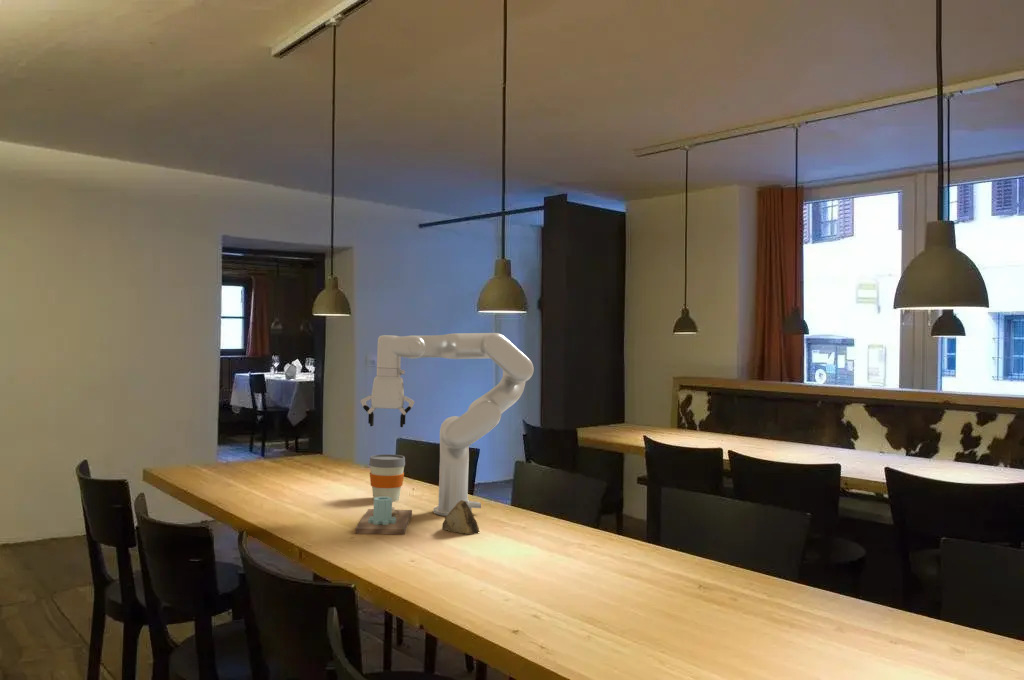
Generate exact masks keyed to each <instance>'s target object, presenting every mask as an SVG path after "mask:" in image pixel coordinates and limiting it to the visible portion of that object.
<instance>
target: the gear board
mask: <svg viewBox="0 0 1024 680" xmlns="http://www.w3.org/2000/svg"><path fill="white" fill-rule="evenodd" d="M373 512H374V508H368V509H367V510H366V512H365V514H363V517H362V518H361V520H360V521H359V523H358V524H357V525H356V527H355V532H354V533H355V535H356V534H358V535H362V534H363V535H366V534H367V535H405V533H406V530H407V528H408V525H409V523H410V521H411V518H412V515H413V510H412V509H395V507H393V506H392V517H396V523H394V524H390V523H389V525H383V524H379V525H374V524H373V523H369V522H368V519H369V517H372V516H373Z"/></svg>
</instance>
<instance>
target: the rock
mask: <svg viewBox="0 0 1024 680" xmlns="http://www.w3.org/2000/svg"><path fill="white" fill-rule="evenodd" d="M471 509H472V508H471ZM471 509H470V508H469V506H468V505H467V503H466V502H465V501H463V500H461V501H460V502H458V503H457V504H456V505H455V507H454V508H453V509H452V510H451V511H450V512H449V514H448V515H447V516H444V517H445V518H444V520H443V522H442V525H441V529H442V531H443V530H444V531H447V530H449V531H448V532H451V531H455V532H454V533H456V532H459V533H458V534H463V533H465V534H464V535H475V534H474V533H477V534H479V533H478V532H480V528H479V525H478V522H477V520H476V519H475V517H474V514H473V510H472V511H471ZM480 533H481V532H480Z"/></svg>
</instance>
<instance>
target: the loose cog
mask: <svg viewBox="0 0 1024 680" xmlns="http://www.w3.org/2000/svg"><path fill="white" fill-rule="evenodd" d="M392 507H393V502H392V498H391V497H375V498H374V500H373V509H374V512H373V516H372V517H369V519H368V522H369V523H373V524H374V525H379V524H383V525H389V523H390V524H394V523H396V517H392Z"/></svg>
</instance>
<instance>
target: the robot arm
mask: <svg viewBox="0 0 1024 680" xmlns="http://www.w3.org/2000/svg"><path fill="white" fill-rule="evenodd" d="M376 352H377V353H376V355H377V356H376V376H374V379H373V383H372V389H371V394H370V395H368V396H366V397H363V398H362V399H360V401H359V403H360V404H361V405H362V408H363V410H364V411H365V412H366V413H367V414H368V419H367V420H368V422H367V423H368V424H369V427H373V426H374V423H375V422H374V419H375V414H374V411H375V410H376V409H392V410H394V409H395V410H397V409H398V411H399V412H400V420H399V421H400V423H399V427H400V428H403V427H404V425H406V414H408V412H410V411H411V409H412V408H413V406H414V404H415V400H414V399H412V398H410V397H408V396H406V395H405V388H404V385H405V384H404V380H403V377H401V376H403V375H405V373H406V371H405V370H403V369H401V362H402V361H401V358H405V359H406V358H407V359H419V358H422V359H423V358H441V359H448V360H475V359H476V360H477V359H478V360H479V359H480V360H481V359H483V360H484V359H485V360H486V359H491V360H492V361H493V362H494V363H495V364H496V365H497V366H499V368H500V369H501V370H502V377H501V379H500V381H499V382H498V383H497V385H495V386H494V387H492V388H491V389H490V390H488V391H487V392H486V393H484V394H483V395H481V396H480V397H478V398H477V399H475V400H473V401H472V403H470V405H469V406H468V409H467V411H465V412H464V413H462V414H461V415H460V416H458V415H457V416H456V415H454V416H449V417H447V418H445V419H444V421H443V422H442V423H441V425H440V428H439V475H438V477H439V482H438V501H437V503H438V504H437V505H438V506H435V507H434V508H433V513H434V514H436V515H438V516H443V517H446V516H447V515H448V514H449V512H450V511H451V510H452V509H453V508H454V507H455V505H456V504H457V503H458V502H460V501H461V500H463V501H465V502H466V503H467V505H468V506H469V508H470V509H471V511H472V512H473V509H481V508H482V502H481V501H480V502H479V501H476V500H475V501H471V500H469V496H468V493H469V462H470V451H469V449H470V448H469V447H470V446H471V445H473V444H474V443H475V442H477V441H478V440H480V439H481V438H483V437H484V436H486V434H488V433H490V432H491V431H492V430H493V429H494V428H495V427H496V426H497V425H498V424H500V421H501V418H502V414H503V413H504V412H505V411H507V410H508V409H509V408H511V407H512V406H513V405H514V404H516V403H517V401H519V399H520V398H521V396H522V395H523V393H524V390H525V386H526V382H527V381H529V380H530V379H531V378H532V376H533V374H534V370H535V369H534V364H533V362H532V360H531V359H530V358H529V357H528V356H527V355H526V354H524V352H522V351H521V350H520V349H519V348H518V347H517V346H516V345H515V344H514V343H512V342H511V341H510V340H509V339H508V338H507V337H506V336H505V335H503V334H501V333H498V332H482V333H481V332H475V333H469V332H468V333H466V332H465V333H463V332H461V333H460V332H458V333H457V332H456V333H447V334H438V335H437V334H435V335H432V334H431V335H413V334H412V335H411V334H410V335H404V336H399V335H390V334H389V335H388V334H384V335H379V336H378V338H377V351H376ZM370 400H371V401H370ZM369 401H370V402H371V405H370V406H371V407H369V406H368V405H367V402H369ZM405 402H407V403H408V406H407V407H406V408H404V404H405Z"/></svg>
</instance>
